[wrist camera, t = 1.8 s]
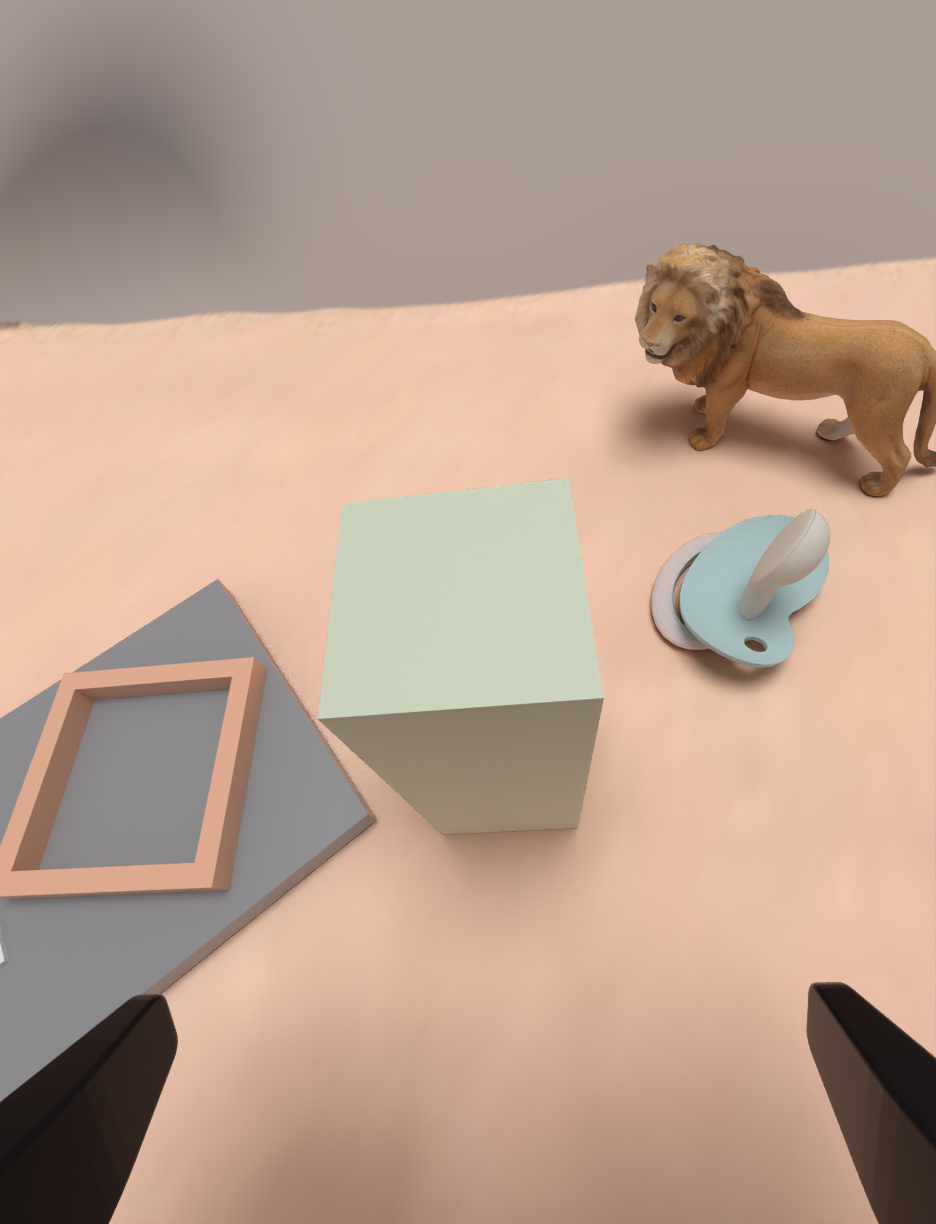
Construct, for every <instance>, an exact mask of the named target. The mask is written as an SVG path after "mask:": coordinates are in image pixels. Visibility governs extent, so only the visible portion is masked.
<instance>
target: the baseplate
mask: <svg viewBox="0 0 936 1224" xmlns="http://www.w3.org/2000/svg"><path fill="white" fill-rule="evenodd" d="M250 657H254V658H256V659H257V660H258V661H259V662H260V663H261V664H262V665H263V666H264V667H265V668H266V669H267V671H266V677H265V683H264V689H263V695H262V701H261V707H260V713H259V719H258V724H257V730H256V736H255V742H254V748H253V754H252V760H251V766H250V772H249V777H248V783H247V789H246V795H245V801H244V807H243V813H242V819H241V825H240V831H239V836H238V842H237V848H236V854H235V860H234V866H233V872H232V878H231V884H230V890H219V891H195V892H171V893H148V894H124V895H100V896H76V897H52V898H28V899H0V1101H2V1100H3V1099H4V1098H5V1097H7V1096H8V1095H9V1094H10V1093H12V1092H13V1091H14V1090H15V1089H17V1088H18V1087H19V1086H20V1085H22V1084H23V1083H24V1082H25V1081H27V1080H28V1079H29V1078H30V1077H32V1076H33V1075H34V1074H35V1073H37V1072H38V1071H39V1070H40V1069H42V1068H43V1067H44V1066H45V1065H47V1064H48V1063H49V1062H51V1061H52V1060H53V1059H54V1058H56V1057H57V1056H58V1055H59V1054H61V1053H62V1052H63V1051H64V1050H66V1049H67V1048H68V1047H69V1046H71V1045H72V1044H73V1043H74V1042H76V1041H77V1040H78V1039H79V1038H81V1037H82V1036H83V1035H84V1034H86V1033H87V1032H88V1031H89V1030H91V1029H92V1028H93V1027H95V1026H96V1025H97V1024H98V1023H100V1022H101V1021H102V1020H103V1019H105V1018H106V1017H107V1016H108V1015H110V1014H111V1013H112V1012H113V1011H115V1010H116V1009H117V1008H118V1007H120V1006H121V1005H122V1004H123V1003H125V1002H126V1001H127V1000H129V999H130V998H132V997H134V996H136V995H141V994H161V993H162V992H163V991H164V990H166V989H167V988H168V987H169V986H171V985H172V984H173V983H174V982H176V981H177V980H178V979H179V978H181V977H182V976H183V975H184V974H186V973H187V972H188V971H189V970H191V969H192V968H193V967H194V966H196V965H197V964H198V963H199V962H200V961H202V960H203V959H204V958H205V957H207V956H208V955H209V954H210V953H212V952H213V951H214V950H215V949H217V948H218V947H219V946H220V945H222V944H223V943H224V942H225V941H227V940H228V939H229V938H230V937H232V936H233V935H234V934H235V933H237V932H238V931H239V930H240V929H242V928H243V927H244V926H245V925H247V924H248V923H249V922H250V921H252V920H253V919H254V918H255V917H257V916H258V915H259V914H260V913H262V912H263V911H264V910H265V909H266V908H268V907H269V906H270V905H271V904H273V903H274V902H275V901H276V900H278V899H279V898H280V897H281V896H283V895H284V894H285V893H286V892H288V891H289V890H290V889H291V888H293V887H294V886H295V885H296V884H298V883H299V882H300V881H301V880H303V879H304V878H305V877H306V876H308V875H309V874H310V873H311V872H313V871H314V870H315V869H316V868H318V867H319V866H320V865H321V864H323V863H324V862H325V861H326V860H328V859H329V858H330V857H331V856H333V855H334V854H335V853H336V852H337V851H339V850H340V849H341V848H342V847H344V846H345V845H346V844H347V843H349V842H350V841H351V840H352V839H354V838H355V837H356V836H357V835H359V834H360V833H361V832H362V831H364V830H365V829H366V828H367V827H369V826H370V825H371V824H372V823H374V822H375V821H376V820H377V819H376V818H375V816H374V815H373V813H372V812H371V810H370V809H369V807H368V805H367V804H366V802H365V801H364V799H363V798H362V796H361V795H360V793H359V791H358V790H357V788H356V787H355V785H354V784H353V782H352V781H351V779H350V777H349V776H348V774H347V773H346V771H345V770H344V768H343V767H342V765H341V764H340V762H339V760H338V759H337V757H336V756H335V754H334V753H333V751H332V750H331V748H330V746H329V745H328V743H327V742H326V740H325V739H324V737H323V736H322V734H321V732H320V731H319V729H318V728H317V726H316V725H315V723H314V722H313V720H312V719H311V717H310V715H309V714H308V712H307V711H306V709H305V708H304V706H303V705H302V703H301V701H300V700H299V698H298V697H297V695H296V694H295V692H294V691H293V689H292V687H291V686H290V684H289V683H288V681H287V680H286V678H285V677H284V675H283V674H282V672H281V670H280V669H279V667H278V666H277V664H276V663H275V661H274V660H273V658H272V656H271V655H270V653H269V652H268V650H267V649H266V647H265V646H264V644H263V642H262V641H261V639H260V638H259V636H258V635H257V633H256V632H255V630H254V629H253V627H252V625H251V624H250V622H249V621H248V619H247V618H246V616H245V615H244V613H243V611H242V610H241V608H240V607H239V605H238V604H237V602H236V601H235V599H234V598H233V596H232V594H231V593H230V592H229V590H228V589H227V588H226V587H225V586H224V585H223V584H222V583H221V582H220V581H219V580H218V579H217V580H215V581H214V582H212V583H211V584H209V585H208V586H206V587H205V588H203V589H201V590H200V591H198V592H197V593H195V594H194V595H192V596H191V597H189V598H187V599H186V600H184V601H183V602H181V603H180V604H178V605H177V606H175V607H173V608H172V609H170V610H169V611H167V612H166V613H164V614H163V615H161V616H159V617H158V618H156V619H155V620H153V621H152V622H150V623H149V624H147V625H145V626H144V627H142V628H141V629H139V630H138V631H136V632H135V633H133V634H131V635H130V636H128V637H127V638H125V639H124V640H122V641H121V642H119V643H117V644H116V645H114V646H113V647H111V648H110V649H108V650H107V651H105V652H103V653H102V654H100V655H99V656H97V657H96V658H94V659H93V660H91V661H89V662H88V663H86V664H85V665H83V666H82V667H80V668H79V669H77V670H75V671H74V672H72V673H76V672H87V671H99V670H111V669H122V668H134V667H145V666H157V665H169V664H180V663H192V662H204V661H215V660H227V659H239V658H250ZM61 680H62V679H61ZM61 680H60V681H58V682H57V683H55V684H54V685H52V686H51V687H49V688H47V689H46V690H44V691H43V692H41V693H40V694H38V695H37V696H35V697H33V698H32V699H30V700H29V701H27V702H26V703H24V704H22V705H21V706H19V707H18V708H16V709H15V710H13V711H12V712H10V713H8V714H7V715H5V716H4V717H2V718H1V719H0V846H1V843H2V840H3V837H4V835H5V832H6V829H7V827H8V824H9V821H10V818H11V816H12V813H13V810H14V808H15V805H16V802H17V799H18V797H19V794H20V791H21V789H22V786H23V783H24V780H25V778H26V775H27V772H28V770H29V767H30V764H31V761H32V759H33V756H34V753H35V751H36V748H37V745H38V742H39V740H40V737H41V734H42V732H43V729H44V726H45V723H46V721H47V718H48V715H49V712H50V710H51V707H52V704H53V702H54V699H55V696H56V693H57V691H58V688H59V685H60V683H61ZM229 690H230V689H223V690H211V691H198V692H186V693H173V694H161V695H148V696H136V697H123V698H111V699H98V700H95V701H94V704H93V707H92V710H91V713H90V716H89V719H88V722H87V725H86V728H85V731H84V734H83V737H82V740H81V743H80V746H79V749H78V752H77V756H76V759H75V762H74V765H73V768H72V771H71V774H70V777H69V780H68V783H67V786H66V789H65V792H64V795H63V798H62V801H61V804H60V807H59V810H58V813H57V816H56V819H55V822H54V825H53V828H52V831H51V834H50V838H49V841H48V844H47V847H46V850H45V853H44V856H43V859H42V862H41V865H40V868H39V870H51V869H72V868H93V867H114V866H135V865H156V864H178V863H195V858H196V853H197V848H198V843H199V839H200V834H201V829H202V824H203V819H204V814H205V809H206V804H207V799H208V794H209V789H210V784H211V779H212V774H213V769H214V764H215V759H216V754H217V750H218V745H219V740H220V735H221V730H222V725H223V720H224V715H225V710H226V705H227V700H228V695H229Z"/></svg>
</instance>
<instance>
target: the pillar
mask: <svg viewBox="0 0 936 1224" xmlns="http://www.w3.org/2000/svg"><path fill="white" fill-rule="evenodd" d="M603 699H604V697H603V690H602V684H601V678H600V671H599V665H598V659H597V652H596V646H595V640H594V633H593V627H592V621H591V615H590V608H589V602H588V596H587V589H586V583H585V577H584V570H583V564H582V558H581V551H580V545H579V539H578V532H577V526H576V520H575V513H574V507H573V501H572V495H571V488H570V482H569V478H564V479H555V480H546V481H537V482H528V483H520V484H511V485H502V486H493V487H484V488H475V489H467V490H458V491H449V492H440V493H431V494H423V495H414V496H405V497H396V498H387V499H379V500H370V501H361V502H352V503H343V504H342V510H341V519H340V527H339V536H338V545H337V554H336V563H335V571H334V580H333V589H332V598H331V607H330V615H329V624H328V633H327V642H326V651H325V659H324V668H323V677H322V686H321V694H320V703H319V712H318V720H319V721H320V722H322V723H323V724H324V725H325V726H326V727H327V728H328V729H329V730H330V731H331V732H332V733H333V734H335V735H336V736H337V737H338V738H339V739H340V740H341V741H342V742H343V743H344V744H345V745H346V746H348V747H349V748H350V749H351V750H352V751H353V752H354V753H355V754H356V755H357V756H358V757H359V758H361V759H362V760H363V761H364V762H365V763H366V764H367V765H368V766H369V767H370V768H371V769H372V770H374V771H375V772H376V773H377V774H378V775H379V776H380V777H381V778H382V779H383V780H384V781H385V782H387V783H388V784H389V785H390V786H391V787H392V788H393V789H394V790H395V791H396V792H397V793H398V794H400V795H401V796H402V797H403V798H404V799H405V800H406V801H407V802H408V803H409V804H410V805H411V806H413V807H414V808H415V809H416V810H417V811H418V812H419V813H420V814H421V815H422V816H423V817H424V818H426V819H427V820H428V821H429V822H430V823H431V824H432V825H433V826H434V827H435V828H436V829H437V830H439V831H440V832H441V833H442V834H443V835H449V834H469V833H489V832H509V831H529V830H548V829H568V828H578V823H579V818H580V813H581V808H582V803H583V799H584V794H585V789H586V784H587V779H588V774H589V769H590V764H591V759H592V754H593V749H594V744H595V739H596V734H597V729H598V724H599V719H600V714H601V709H602V704H603Z"/></svg>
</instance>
